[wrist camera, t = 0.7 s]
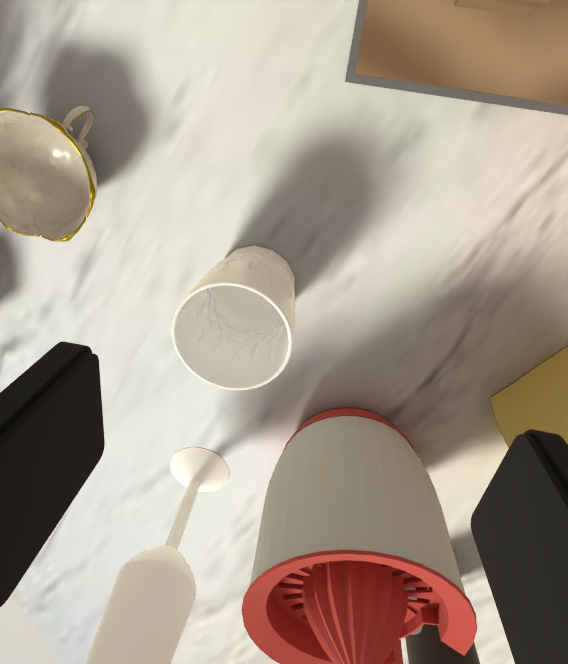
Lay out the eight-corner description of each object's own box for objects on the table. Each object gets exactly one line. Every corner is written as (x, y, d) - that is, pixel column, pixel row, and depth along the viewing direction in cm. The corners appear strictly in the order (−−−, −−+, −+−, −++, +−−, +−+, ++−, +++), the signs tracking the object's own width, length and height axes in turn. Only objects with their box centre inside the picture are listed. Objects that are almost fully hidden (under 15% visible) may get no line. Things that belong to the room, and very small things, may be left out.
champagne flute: (210, 440, 44) (100, 737, 23) (240, 483, 47) (164, 787, 26) (158, 456, 46) (12, 745, 25) (189, 497, 49) (81, 791, 28)
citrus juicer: (366, 531, 49) (386, 770, 31) (243, 455, 45) (185, 675, 27) (472, 455, 42) (575, 704, 24) (337, 358, 38) (342, 568, 21)
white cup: (231, 221, 34) (194, 259, 25) (318, 264, 34) (314, 317, 26) (197, 301, 37) (156, 360, 28) (278, 339, 38) (262, 407, 29)
